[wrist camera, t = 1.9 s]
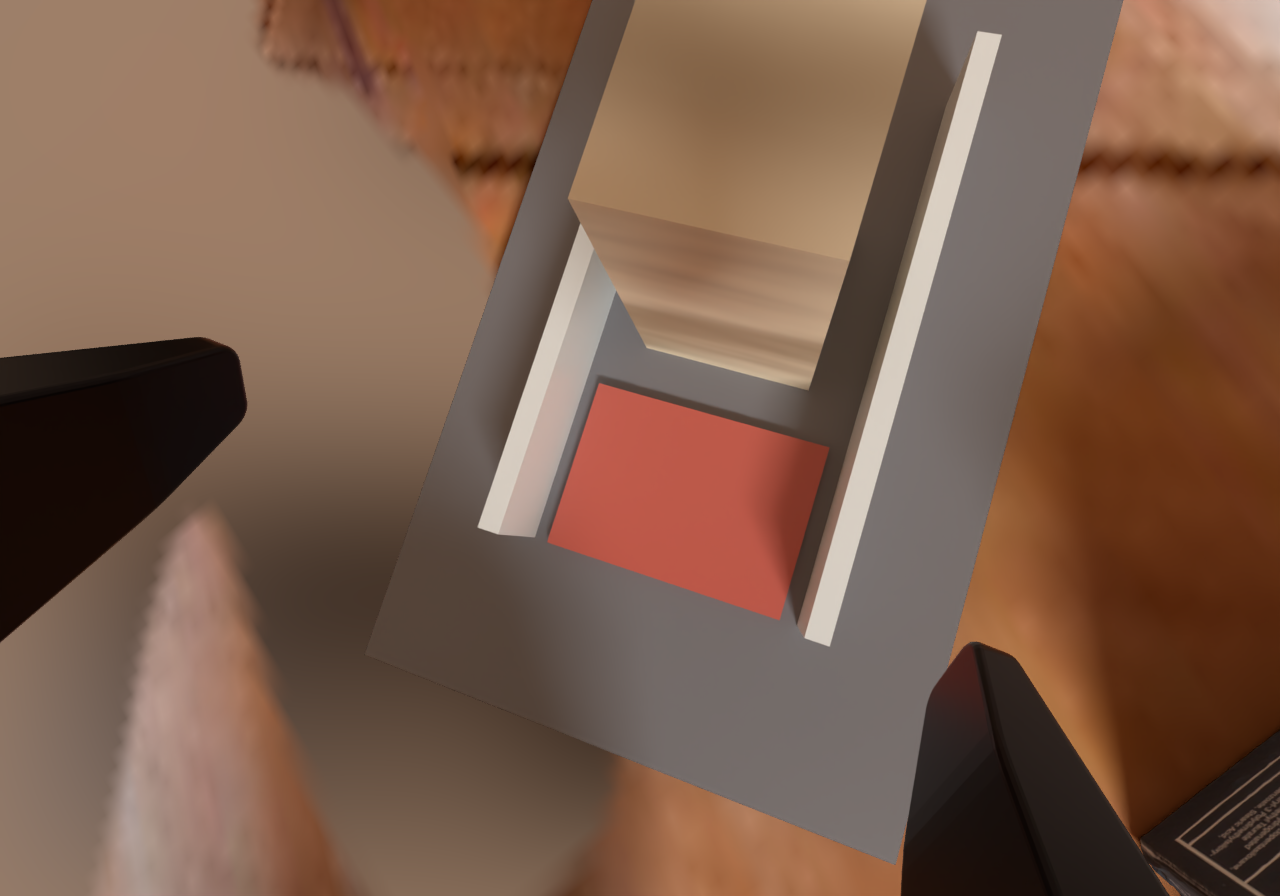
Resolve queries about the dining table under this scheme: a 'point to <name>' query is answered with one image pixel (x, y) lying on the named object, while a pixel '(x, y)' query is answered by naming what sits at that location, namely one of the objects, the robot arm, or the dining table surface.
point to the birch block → (741, 170)
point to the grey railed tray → (756, 453)
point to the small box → (1225, 832)
